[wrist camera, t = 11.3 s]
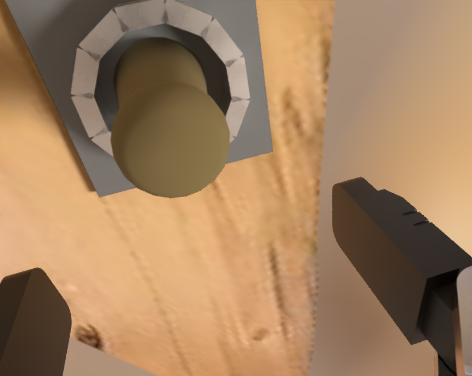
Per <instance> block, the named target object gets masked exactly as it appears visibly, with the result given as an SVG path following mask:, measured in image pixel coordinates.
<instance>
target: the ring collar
mask: <svg viewBox="0 0 472 376" xmlns="http://www.w3.org/2000/svg"><path fill="white" fill-rule="evenodd" d="M164 23H166V24H169V25H172V26H174V27H177V28H180V29H183V30H185V31H188V32H191V33H194V34H196V35H199V36H201V37H202V38H203V39H204V41H205V42H206V43H207V44H208V45H209V47H210V48H211V49H212V50H213V51H214V53H215V54H216V55H217V56H218V59H219V65H220V70H221V75H222V81H223V86H224V89H223V92H222V95H221V98H220V101H219V104H218V107H219V108H220V109H221V110H222V112H223V114H224V116H225V118H226V121H227V124H228V127H229V130H230V143H231V142H232V141H233V140H234V139H235V138H234V137H233V136H235V137H236V136H237V134H238V131H239V128H240V126H241V123H242V120H243V118H244V115H245V112H246V110H247V107H248V104H249V102H250V100H249V98H250V93H249V87H248V80H247V73H246V66H245V59H244V56H242V55H243V53H242V52H241V51H240V50H239V48H238V47H237V46H236V44H235V43H234V42H233V41H232V39H231V38H230V37H229V35H228V34H227V33H226V32H225V30H224V29H223V28H222V26H221V25H220V24H219V22H218V21H217V20H216V19H215V18H214V17H212V16H211V15H210V14H208V13H206V12H204V11H202V10H199V9H197V8H194V7H192V6H189V5H187V4H184V3H182V2H179V1H176V0H136V1H131V2H126V3H121V4H117V5H116V7H115V6H114V7H113V8H112V9H111V10H110V11H109V12H108V13H107V14H106V15H105V16H104V17H103V19H102V20H101V21H100V22H99V23H98V24H97V25H96V26H95V27H94V28H93V29H92V30H91V31H90V32H89V34H88V35H87V36H86V37H85V38H84V39H83V40H82V41H81V43H80V44H79V46H78V48H77V52H76V60H75V67H74V74H73V81H72V88H71V94H73V95H72V96H71V98H72V100H73V102H74V105H75V107H76V109H77V111H78V114H79V116H80V118H81V120H82V123H83V125H84V127H85V129H86V132H87V134H88V136H89V138H90V137H92V138H91V140H92V141H93V142H94V143H96V144H97V145H98V146H100V147H101V148H102V149H103V150H105V151H106V152H107V153H109V154H110V155H111V156H113V152H112V146H111V141H110V139H111V133H112V127H113V121H114V119H113V118H112V117H111V116H110V114H109V112H108V109H107V107H106V104H105V101H104V99H103V96H102V94H101V91H100V89H99V86H98V81H99V75H100V69H101V64H102V58H103V56H104V55H105V53H106V52H107V51H108V50H109V49H110V48H111V47H112V46H113V45H114V44H115V43H116V42H117V41H118V40H119V39H120V38H121V37H122V36H123V35H124V34H125V33H126V32H127V31H131V30H136V29H141V28H145V27H150V26H155V25H159V24H164Z"/></svg>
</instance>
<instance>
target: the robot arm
mask: <svg viewBox="0 0 472 376" xmlns="http://www.w3.org/2000/svg"><path fill="white" fill-rule="evenodd" d="M332 227H333V232H334V236H335V238H336V241H337V243H338V245H339V246H340V248H341V249H342V250H343V252H344V253H345V255H346V256H347V257H348V259H349V260H350V261H351V263H352V264H353V266H354V267H355V268H356V270H357V271H358V272H359V274H360V275H361V276H362V278H363V279H364V281H365V282H366V283H367V285H368V286H369V288H370V289H371V290H372V292H373V293H374V294H375V296H376V297H377V299H378V300H379V301H380V303H381V304H382V305H383V307H384V308H385V310H386V311H387V312H388V314H389V315H390V316H391V318H392V319H393V321H394V322H395V323H396V325H397V326H398V327H399V329H400V330H401V331H402V333H403V334H404V336H405V337H406V338H407V340H408V341H409V342H410V344H411V345H413V344H416V343H419V342H421V341H424V340H428V341H429V342H430V344H431V345H432V346H433V348H434V349H435V352H434V376H472V257H471V256H470V255H469V254H467V253H466V252H465V251H464V250H463V249H462V248H460V247H459V246H458V245H457V244H456V243H455V242H454V241H452V240H451V239H450V238H449V237H448V236H447V235H445V234H444V233H443V232H442V231H441V230H440V229H439V228H437V227H436V226H435V225H434V224H433V223H429V221H428V219H427V218H426V217H424V215H422V214H421V213H420V212H417V210H416V209H415V208H414V207H413V206H412V205H411V204H410V203H409V202H407V201H406V200H405V199H404V198H403V197H400V196H398V195H396V194H394V193H391V192H389V191H387V190H385V189H383V190H379V191H377V190H376V189H375V188H374V187H373V186H372V185H371V184H369V183H368V182H367V181H366V180H365V179H364V178H362V177H359V178H355V179H351V180H348V181H344V182H341V183H337V184H335V185H334V186H333V190H332ZM71 324H72V321H71V313H70V309H69V307H68V305H67V303H66V301H65V300H64V299H63V297H62V296H61V294H60V293H59V292H58V290H57V289H56V287H55V286H54V284H53V283H52V282H51V280H50V279H49V277H48V276H47V275H46V273H45V272H44V271H43V270H42V269H41V268H34V269H30V270H27V271H23V272H19V273H16V274H12V275H9V276H6V277H4V278H3V280H2V281H1V283H0V376H62V375H63V370H64V364H65V359H66V353H67V348H68V343H69V337H70V331H71Z"/></svg>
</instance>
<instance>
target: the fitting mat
mask: <svg viewBox="0 0 472 376" xmlns="http://www.w3.org/2000/svg"><path fill="white" fill-rule="evenodd" d="M131 1H136V0H5V2H6V4H7V6H8V8H9V10H10V12H11V14H12V16H13V18H14V20H15V22H16V25H17V27H18V29H19V31H20V33H21V35H22V37H23V39H24V41H25V43H26V45H27V48H28V50H29V52H30V54H31V56H32V58H33V60H34V62H35V64H36V66H37V68H38V71H39V73H40V75H41V77H42V79H43V81H44V83H45V85H46V87H47V89H48V92H49V94H50V96H51V98H52V100H53V102H54V104H55V106H56V108H57V110H58V112H59V115H60V117H61V119H62V121H63V123H64V125H65V127H66V129H67V131H68V133H69V135H70V138H71V140H72V142H73V144H74V146H75V148H76V150H77V152H78V154H79V156H80V158H81V161H82V163H83V165H84V167H85V169H86V171H87V173H88V175H89V177H90V179H91V181H92V184H93V186H94V188H95V190H96V192H97V194H98V196H99V197H103V196H107V195H110V194H114V193H118V192H122V191H125V190H129V189H133V188H137V187H136V186H134V185H133V184H132V183H131V182H130V181H129V180H127V179H126V178H125V177H124V175H123V173H122V172H121V170H120V168H119V167H118V165H117V163H116V161H115V159H114V157H113V156H111V155H110V154H109V153H107V152H106V151H105V150H103V149H102V148H101V147H100V146H98V145H97V144H96V143H94V142H93V141H92V140H91V138H92V137H90V138H89V136H88V134H87V132H86V129H85V127H84V125H83V123H82V120H81V118H80V116H79V114H78V111H77V109H76V107H75V105H74V102H73V100H72V98H71V96H72V95H73V94H71V88H72V81H73V74H74V67H75V60H76V52H77V48H78V46H79V44H80V43H81V41H82V40H83V39H84V38H85V37H86V36H87V35H88V34H89V32H90V31H91V30H92V29H93V28H94V27H95V26H96V25H97V24H98V23H99V22H100V21H101V20H102V19H103V17H104V16H105V15H106V14H107V13H108V12H109V11H110V10H111V9H112V8H113V7H114V6H115V7H116V5H117V4H121V3H126V2H131ZM176 1H179V2H182V3H184V4H187V5H189V6H192V7H194V8H197V9H199V10H202V11H204V12H206V13H208V14H210V15H211V16H212V17H214V18H215V19H216V20H217V21H218V22H219V24H220V25H221V26H222V28H223V29H224V30H225V32H226V33H227V34H228V35H229V37H230V38H231V39H232V41H233V42H234V43H235V44H236V46H237V47H238V48H239V50H240V51H241V52H242V53H243V55H242V56H244V59H245V66H246V73H247V80H248V87H249V93H250V98H249V100H250V102H249V104H248V107H247V110H246V112H245V115H244V118H243V120H242V123H241V126H240V128H239V131H238V134H237V136H236V137H235V136H233V137H234V138H235V139H234V140H233V141H232V142H231V143H230V151H229V155H228V158H227V161H226V164H227V163H231V162H235V161H239V160H243V159H246V158H250V157H254V156H258V155H261V154H265V153H269V152H273V147H272V139H271V130H270V121H269V113H268V104H267V96H266V87H265V78H264V70H263V61H262V52H261V44H260V35H259V26H258V18H257V9H256V1H255V0H176ZM151 37H165V38H168V39H171V40H175V41H178V42H180V43H181V44H183V45H184V46H185V47H187V48H188V49H190V50H191V51H192V52H193V54H194V55H195V56H196V57H197V59H198V60H199V61H200V63H201V66H202V69H203V71H204V74H205V79H206V87H207V94H208V95H209V96H211V98H212V99H213V100H214V101H215V103H216V104H217V105H218V104H219V101H220V98H221V95H222V92H223V89H224V86H223V81H222V75H221V70H220V65H219V59H218V56H217V55H216V54H215V53H214V51H213V50H212V49H211V48H210V47H209V45H208V44H207V43H206V42H205V41H204V39H203V38H202V37H201V36H199V35H196V34H194V33H191V32H188V31H185V30H183V29H180V28H177V27H174V26H172V25H169V24H166V23H164V24H159V25H155V26H150V27H145V28H141V29H136V30H131V31H127V32H126V33H125V34H124V35H123V36H122V37H121V38H120V39H119V40H118V41H117V42H116V43H115V44H114V45H113V46H112V47H111V48H110V49H109V50H108V51H107V52H106V53H105V55H104V56H103V58H102V64H101V69H100V75H99V81H98V86H99V89H100V91H101V94H102V96H103V99H104V101H105V104H106V107H107V109H108V112H109V114H110V116H111V117H112V118H113V119H114V117H115V115H116V114H117V112H118V110H119V104H118V100H117V97H116V92H115V86H114V81H113V80H114V74H115V68H116V65H117V63H118V61H119V59H120V57H121V56H122V54H123V52H125V51H126V50H127V49H128V48H129V47H130V46H131V45H133V44H134V43H136V42H138V41H141V40H144V39H146V38H151Z"/></svg>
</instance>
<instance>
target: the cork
mask: <svg viewBox="0 0 472 376" xmlns="http://www.w3.org/2000/svg"><path fill="white" fill-rule="evenodd" d="M113 81H114V86H115V92H116V97H117V100H118V104H119V110H118V112H117V114H116V115H115V117H114V121H113V127H112V133H111V139H110V141H111V146H112V152H113V157H114V159H115V161H116V163H117V165H118V167H119V168H120V170H121V172H122V173H123V175H124V177H125V178H126V179H127V180H129V181H130V182H131V183H132V184H133V185H134V186H136V187H137V188H138V189H140V190H143V191H145V192H147V193H149V194H152V195H155V196H161V197H168V198H175V197H184V196H188V195H191V194H193V193H196V192H198V191H201V190H202V189H203V188H205V187H206V186H207V185H209V184H210V183H211V182H213V181H214V180H215V179H216V178H217V176H218V175H219V173H220V172H221V171H222V169H223V168H224V166H225V164H226V161H227V158H228V155H229V151H230V130H229V127H228V124H227V121H226V118H225V116H224V114H223V112H222V110H221V109H220V108H219V107H218V105H217V104H216V103H215V101H214V100H213V99H212V98H211V96H209V95H208V94H207V87H206V79H205V74H204V71H203V69H202V66H201V63H200V61H199V60H198V59H197V57H196V56H195V55H194V54H193V52H192V51H191V50H190V49H188V48H187V47H185V46H184V45H183V44H181V43H180V42H178V41H175V40H171V39H168V38H165V37H151V38H146V39H144V40H141V41H138V42H136V43H134V44H133V45H131V46H130V47H129V48H128V49H127V50H126V51H125V52H123V54H122V56H121V57H120V59H119V61H118V63H117V65H116V68H115V74H114V80H113Z"/></svg>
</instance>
